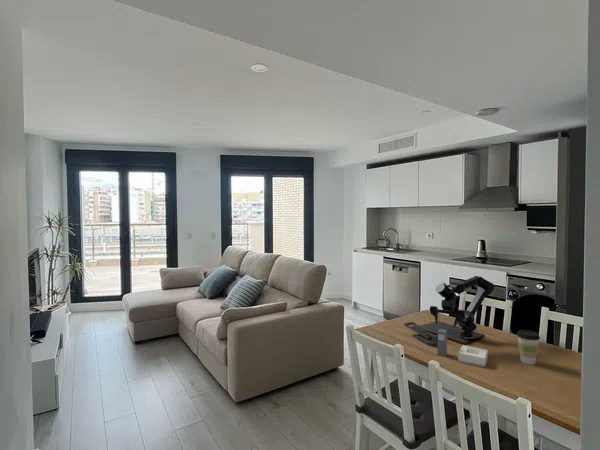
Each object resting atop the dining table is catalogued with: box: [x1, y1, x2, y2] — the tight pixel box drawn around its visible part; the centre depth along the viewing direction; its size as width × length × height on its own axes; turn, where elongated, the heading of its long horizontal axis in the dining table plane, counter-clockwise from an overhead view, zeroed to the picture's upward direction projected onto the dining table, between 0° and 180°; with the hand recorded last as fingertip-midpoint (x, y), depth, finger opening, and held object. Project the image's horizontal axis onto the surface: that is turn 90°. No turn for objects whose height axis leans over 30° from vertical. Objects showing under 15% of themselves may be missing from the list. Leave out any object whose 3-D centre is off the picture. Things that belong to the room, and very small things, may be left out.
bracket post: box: [436, 328, 448, 357], centre depth 183 cm, size 5×4×13 cm
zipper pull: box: [403, 321, 438, 348], centre depth 206 cm, size 9×7×25 cm
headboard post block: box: [457, 344, 489, 368], centre depth 176 cm, size 12×12×4 cm
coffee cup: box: [516, 329, 541, 365], centre depth 172 cm, size 10×10×15 cm
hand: (445, 325), depth 190 cm, fingers open, 9 cm apart
